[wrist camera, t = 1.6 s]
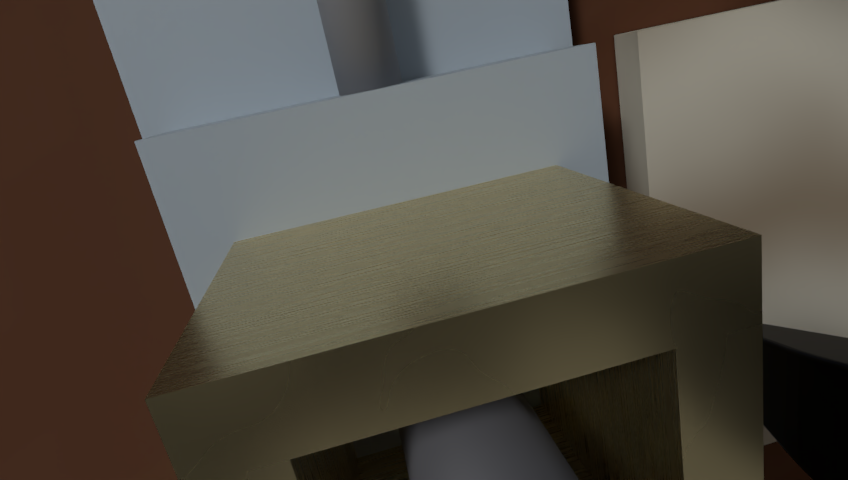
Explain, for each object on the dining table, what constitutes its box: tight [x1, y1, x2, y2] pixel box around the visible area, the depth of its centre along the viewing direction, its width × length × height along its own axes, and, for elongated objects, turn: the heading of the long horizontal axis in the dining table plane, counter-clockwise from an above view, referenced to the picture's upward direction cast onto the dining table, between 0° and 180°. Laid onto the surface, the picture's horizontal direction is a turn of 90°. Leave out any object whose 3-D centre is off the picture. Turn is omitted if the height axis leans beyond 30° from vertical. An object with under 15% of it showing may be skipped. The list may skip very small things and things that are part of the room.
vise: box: [93, 0, 609, 480], centre depth 9 cm, size 20×9×9 cm, turn 11°
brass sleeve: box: [145, 165, 764, 480], centre depth 8 cm, size 6×6×5 cm
